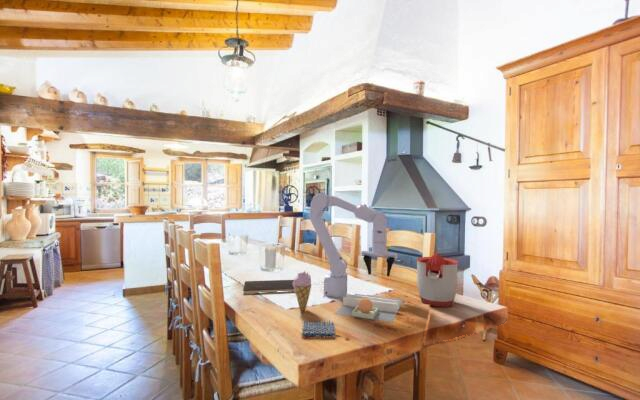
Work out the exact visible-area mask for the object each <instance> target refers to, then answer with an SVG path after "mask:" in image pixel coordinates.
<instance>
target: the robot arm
mask: <svg viewBox="0 0 640 400" xmlns="http://www.w3.org/2000/svg"><path fill="white" fill-rule="evenodd" d="M328 207H338V208H341V209H343V210H345V211H348V212H351V213H353V214H354V217H355V218H357V219H360V220H362V221H364V222H366V223H368V224H370V223H372V231H371V237H372V238H371V239H372V240H371V241H372V242H371V243H372V244H371V250H362V251H360V252H361V253H360V256H361V257H362V259H363V262H364V263H365V266H366V269H367V273H368V275H371V274H372V258H373V257H374V258H383V259H385V258H386V268H387V269H386V277H390V276H391V275H390V274H391V270H392V267H393V264H394V262H395V261H396V260H398V253H396V252H395V253H394V252H389V251H387V224H388V219H387V216H386V214H384V213H383V212H382V211H378V209H373V208H371V207H368V205H367V204H361V203H360V204H358V205H355V204H354V203H351V202H348V201H346V200H344V199H342V198H339V197H338V196H334V195H329V194H327V193H322V192H319V193H316V194H315V195H313V197H312V199H311V201H310V209H309V219H310V222H311V224H312V227H313V228H314V231H315V232H316V235H317V237H318V240H319V241H320V243H321V245H322V248H323V250H324V252H325V254H326V256H327V261H328V263H329V269H330V273H329V274H326V275H325V276H324V279H323V296H322V298H323V299H324V298H326V297H328V296H329V297H334V298H343V297H346V294H348V273H347V272H346V271H347V270H346V269H347V267H348V263H347V261H346V259H345V258H343V257H342V256H341V253H340V252H339V250H338V249H337V247H336V244H335V243H334V240H333V238H332V236H331V234H330V231H329V230H328V228H327V225H326V223H325V221H324V219H323V215H324V213H325V211H326V209H328Z"/></svg>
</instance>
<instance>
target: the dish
mask: <svg viewBox="0 0 640 400" xmlns="http://www.w3.org/2000/svg"><path fill="white" fill-rule="evenodd" d="M377 313H378V308H372V310H371V311H370V312H369V313H362V312H361V311H360V310H359V308H358V306H357V307H356V308H355V309H354V310H353V311H352V316H351V317H353V316H356V317H355V318H359V317H362V319H366V318H369V319H368V320H372V319H374V317H375V316H376V315H377Z"/></svg>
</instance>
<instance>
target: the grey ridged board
mask: <svg viewBox="0 0 640 400" xmlns="http://www.w3.org/2000/svg"><path fill="white" fill-rule="evenodd" d="M363 298H367V299H369V300H370V301H371V302H372V305H373V308H378V313H377V315H376V316H375V317H374V319H371V320H374V321H381V322H387V323H393V322H394V320H395V318H396V316H397V314H398V313H399V310H400V308H401V307H402V304H403V303H404V302H405V301H404V299H399V298H391V297H386V296H385V297H382V296H375V295H369V294H368V295H367V294H362V293H361V294H360V293H354V294H350V293H347V294H346V296H345V297H342V306H340V307H339V309H337V310H336V311H335V312H334V315H340V316H348V317H353V318H354V317H355V318H357V317H356V316H352V311H353V310H354V309H355V308H356V307H357V306H358V303H359V301H360V300H361V299H363ZM358 318H360V319H361V318H362V317H358ZM362 319H363V318H362ZM365 319H368V320H370V319H369V318H365Z"/></svg>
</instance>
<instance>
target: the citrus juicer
mask: <svg viewBox="0 0 640 400" xmlns="http://www.w3.org/2000/svg"><path fill="white" fill-rule="evenodd" d="M458 264H459V261H458V260H456V259H453V258H448V257H443V256H442V255H441V253H439V252H435V253H434V254H432V255H431V256H421V257H418V258H416V284H417V285H416V286H417V291H418V296H419V298H420V301H421V302H422V303H424V304H425V305H429V306H432V307H433V306H434V307H442V308H447V307H449V306H452V305H453V303H454V301H455V298H456V295H457V290H458Z"/></svg>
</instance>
